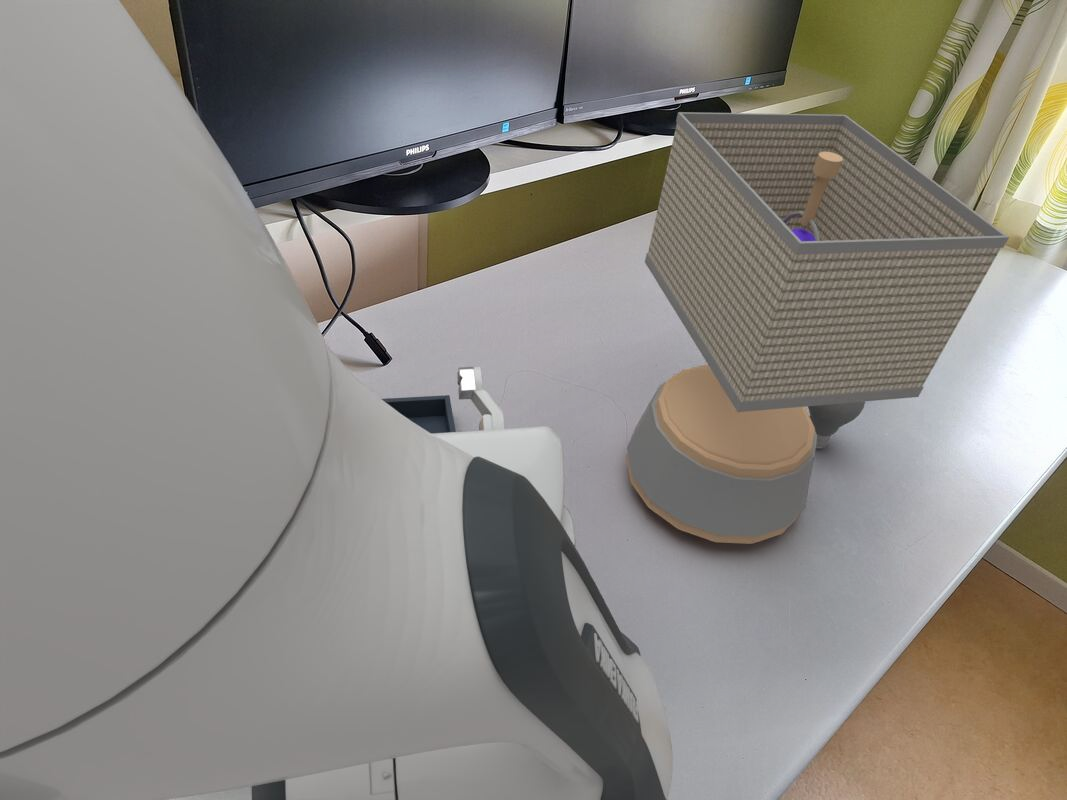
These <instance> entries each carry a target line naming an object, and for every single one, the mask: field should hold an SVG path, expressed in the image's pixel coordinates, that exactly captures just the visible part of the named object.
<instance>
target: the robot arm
mask: <svg viewBox="0 0 1067 800" xmlns="http://www.w3.org/2000/svg"><path fill="white" fill-rule="evenodd" d="M457 370H458V371H457V374H456V382H457V385H458V389H457V392H458V400H470V401H471V402H472V403H473V404H474V406H475V407H476V409H477V411H478V412H479V413H480V415H481V416H482V417H481V419H480V421H479V424H478V430H465V431H456V432H449V433H434V434H431V433H429V432H428V431H426V430H425V429H423V428H421V427H420V426H418V425H417V424H415V423H414V422H412V421H411V420H409V419H408V418H406V417H405V416H403V415H402V414H400V413H399V412H398V411H396V410H395V409H394V408H392V407H391V406H390V405H388V404H387V403H386V402H384V401H383V400H382V399H383V398H381V397H380V396H378V395H377V394H376V393H374V391H373V390H371V389H370V388H369V387H368V386H367V385H365V384H364V383H363V382H362V381H361V380H360V379H359V378H358V377H357V376H356V375H355V374H354V373H353V372H352V371H350V369H349V368H348V367H347V366H346V365H345V364H344V363H343V362H342V361H341V359H340V358H339V357H338V356H337V355H336V354H335V352H334V351H333V350H332V349H331V347H330V345H329V344H328V343H327V341H326V339H325V337H324V335H323V334H322V332H321V329H320V327H319V324H318V322H317V320H316V318H315V316H314V314H313V312H312V310H311V308H310V306H309V304H308V302H307V300H306V298H305V296H304V294H303V292H302V290H301V289H300V287H299V284H298V282H297V280H296V278H295V277H294V275H293V272H292V271H291V268H290V267H289V265H288V263H287V261H286V259H285V257H284V255H283V254H282V252H281V251H280V248H279V247H278V245H277V243H276V242H275V239H274V238H273V237H272V235H271V233H270V232H269V230H268V228H267V226H266V224H265V223H264V221H263V219H262V217H261V216H260V214H259V213H258V210H257V209H256V207H255V206H254V204H253V202H252V200H251V198H250V197H249V195H248V193H247V192H246V190H245V188H244V186H243V185H242V183H241V181H240V180H239V178H238V176H237V174H236V173H235V171H234V169H233V167H232V166H231V165H230V163H229V161H228V160H227V158H226V157H225V155H224V154H223V152H222V151H221V149H220V147H219V145H218V144H217V143H216V141H215V140H214V138H213V137H212V135H211V133H210V132H209V131H208V129H207V127H206V126H205V124H204V122H203V121H202V120H201V117H200V116H199V115H198V113H197V112H196V110H195V108H194V107H193V105H192V104H191V102H190V101H189V99H188V97H187V95H185V92H184V91H183V90H182V89H181V87H180V85H179V84H178V81H176V79H175V78H174V76H173V75H172V73H171V72H170V70H169V69H168V68H167V66H166V64H164V62H163V61H162V59H161V58H160V56H159V55H158V53H157V52H156V51H155V49H154V48H153V47H152V45H151V44H150V43H149V41H148V39H147V38H146V36H145V35H144V33H143V32H142V31H141V29H140V28H139V27H138V25H137V23H135V21H134V19H133V18H132V16H131V15H130V13H128V10H127V9H126V8H125V6H124V4H123V3H122V2H121V1H120V0H0V800H176V799H182V798H189V797H197V796H201V795H209V794H217V793H221V792H227V791H232V790H240V789H243V788H250V787H251V800H669V796H670V792H671V787H672V782H673V781H672V780H673V769H674V766H673V763H674V762H673V758H674V757H673V745H672V744H673V743H672V736H671V735H672V734H671V731H670V730H671V729H670V723H669V720H668V715H667V711H666V707H665V703H664V699H663V697H662V694H661V691H660V688H659V686H658V683H657V681H656V679H655V677H654V674H653V673H652V671H651V669H650V667H649V665H648V664H647V663H646V661H645V660H644V659H643V657H642V654H641V650H640V649H639V646H638V645H637V644H635V643H634V642H633V641H632V640H631V639H630V638H629V637H628V636H627V635H625V634H624V633H623V632H622V631H621V630H620V628H619V626H618V624H617V622H616V620H615V618H614V616H613V615H612V612H611V611H610V608H609V606H608V604H607V603H606V601H605V599H604V596H603V595H602V593H601V591H600V589H599V588H598V585H597V583H596V582H595V580H594V579H593V577H592V575H591V572H590V571H589V569H588V567H587V565H586V563H585V561H584V560H583V557H582V556H581V555H580V552H579V551H578V549H577V547H576V535H575V527H574V526H575V525H574V520H573V516H572V514H571V512H570V510H569V509H568V508H567V507H566V506H565V458H564V448H563V447H564V446H563V442H562V439H561V437H560V436H559V435H557V433H556V432H555V431H554V430H553V429H552V428H550V427H549V426H547V425H546V426H545V425H543V426H542V425H541V426H529V427H528V426H527V427H515V428H514V427H513V428H511V427H510V428H506V424H505V415H504V412H503V411H502V409H501V408H500V407H499V405H498V404H497V403H496V401H495V400H494V399H493V398H492V396H491V395H490V394H489V392H488V390H486V389H484V380H483V379H484V378H483V371H482V366H479V365H478V366H475V365H473V366H467V367H466V366H465V367H464V366H463V367H458V369H457Z"/></svg>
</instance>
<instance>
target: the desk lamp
mask: <svg viewBox="0 0 1067 800" xmlns="http://www.w3.org/2000/svg"><path fill="white" fill-rule="evenodd" d="M675 123H676V126H675V130H674V133H673V134H674V135H673V138H672V144H671V148H670V152H669V157H668V160H667V166H666V171H665V173H664V174H665V175H664V180H663V184H662V187H661V192H660V196H659V200H658V201H659V202H658V206H657V210H656V214H655V219H654V225H653V228H652V233H651V238H650V241H649V246H648V250H647V252H646V254H645V260H644V263H645V265H646V267H647V269H648V270H649V271H650V274H651V275H652V276H653V278H654V279H655V281H656V283H657V285H658V286H659V288H660V290H661V291H662V292H663V294H664V296H665V298H666V299H667V300H668V303H669V304H670V306H671V307H672V308H673V310H674V312H675V314H676V315H677V317H678V318H679V320H680V322H681V323H682V326H683V327H684V328H685V330H686V331H687V333H688V335H689V336H690V338H691V339H692V341H693V343H694V344H695V346H696V347H697V349H698V351H699V352H700V354H701V356H702V357H703V359H704V360H705V362H706V364H702V365H699V366H693V367H689V368H685V369H681V370H680V371H679V372H677V373H675V374H674V375H673V376H671V377H670V378H668V379H667V380H666V381H664V382H663V383H662V384H660V385H659V386H658V388H657V389H656V391H655V393H654V394H653V396H652V398H651V399H650V401H649V403H648V404H647V406H646V409H645V410H644V412H643V413H642V416H641V417H640V419H639V421H638V422H637V424H636V426H635V428H634V430H633V433H632V435H631V437H630V439H629V442H628V444H627V447H626V450H627V453H626V455H625V457H626V463H627V465H626V466H627V470H628V477H629V482H630V483H631V485H632V487H633V488H634V490H635V491H636V492H637V494H638V495H639V496H640V498H641V500H642V501H643V502H644V503H645V505H646V506H647V508H649V509H650V510H651V511H652V512H653V513H654V514H656V515H658V516H659V517H661V518H662V519H663V520H665V521H666V522H668V524H670V525H672V526H673V527H674V528H676V529H677V530H679V531H682V532H685V533H687V534H688V533H689V534H690V535H694V536H696V537H699V538H702V539H705V540H708V541H711V542H713V543H724V544H727V543H728V544H750V545H751V544H752V545H753V544H756V543H759V542H762V541H765V540H768V539H771V538H774V537H777V536H780V535H783V534H784V533H785V531H787V529H788V528H790V526H791V525H792V524H793V523H794V522H795V521H796V519H798V518H799V516H801V513H802V512H803V511H804V510H805V509H806V506H807V500H808V495H809V494H808V493H809V489H810V483H811V477H812V472H813V465H814V460H815V455H816V454H815V453H816V449H817V448H816V440H817V434H816V432H815V427H814V425H813V423H812V421H811V418H810V413H809V411H808V410H807V407H808V406H817V405H829V404H841V403H853V402H865V403H866V402H874V401H888V400H899V399H912V398H919V397H920V395H921V393H922V392H923V390H924V388H925V387H924V384H925V383H926V381H927V379H928V378H929V375H930V374H931V373H932V371H933V368H934V367H935V365H936V363H938V362H937V361H938V360H939V358H940V356H941V355H942V354H943V351H944V350H945V347H946V346H947V344H948V342H949V340H950V338H951V337H952V335H953V333H954V331H955V330H956V328H957V327H958V324H959V323H960V321H961V320H962V317H963V316H964V314H965V313H966V311H967V309H968V307H969V305H970V304H971V302H972V301H973V298H974V296H975V295H976V293H977V291H978V289H979V288H980V286H981V284H982V282H983V281H984V279H985V277H986V275H987V274H988V272H989V270H990V268H991V267H992V266H993V263H994V261H995V260H996V259H997V256H998V254H999V252H1000V251H1001V249H1003V248H1004V247H1005V246H1006V244H1007V242H1008V240H1009V238H1010V237H1009V236H1008V235H1007V234H1006V233H1004V232H1003V231H1002V230H1000V229H999V228H997V227H996V226H995V225H993V224H992V223H991V222H989V221H988V220H987V219H985V218H984V217H983V216H982V215H980V214H979V213H977V212H976V211H975V210H974V209H972V208H971V207H969V206H968V205H967V204H965V203H964V202H963V201H961V200H960V199H959V198H957V197H956V196H955V195H953V194H952V193H951V192H950V191H948V190H947V189H945V188H944V187H943V186H942V185H940V184H939V183H937V182H936V181H935V180H934V179H932V178H931V177H929V176H928V175H927V174H925V173H924V172H923V171H921V170H920V169H919V168H917V167H916V166H915V165H913V164H912V163H911V162H910V161H908V160H907V159H906V158H904V157H903V156H901V155H900V154H899V153H897V152H896V151H895V150H894V149H892V148H891V147H889V146H888V145H887V144H885V143H884V142H882V141H881V140H880V139H879V138H877V137H876V136H875V135H874V134H872V133H870V132H869V131H868V130H866V129H865V128H864V127H863V126H862V125H860V124H858V123H857V122H856V121H855V120H853V119H852V118H851V117H849V116H848V115H847V114H827V113H826V114H825V113H824V114H820V113H819V114H817V113H757V112H754V113H753V112H752V113H751V112H693V111H691V112H690V111H689V112H688V111H687V112H686V111H685V112H683V111H679V112H677V115H676V119H675Z"/></svg>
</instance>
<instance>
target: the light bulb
mask: <svg viewBox="0 0 1067 800" xmlns="http://www.w3.org/2000/svg"><path fill="white" fill-rule="evenodd" d="M865 405H866V401H865V402H853V403H841V404H829V405H817V406H807V407H808V414H809V416H810V418H811V421H812V423H813V425H814V427H815V432H816V434H817V440H816V448H815V449H824V448H826V447H827V445H828V443H829V441H830V439H831V438H832V436H833V435H834V434H835V433H837V432H838V430H839V429H840V428H841V427H843V426H845V425H847V424H849V423H851V422H853V421H854V420H856V419H857V418H858V417H859V415H860V414H861V413H862V412H863V410H864V408H865Z"/></svg>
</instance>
